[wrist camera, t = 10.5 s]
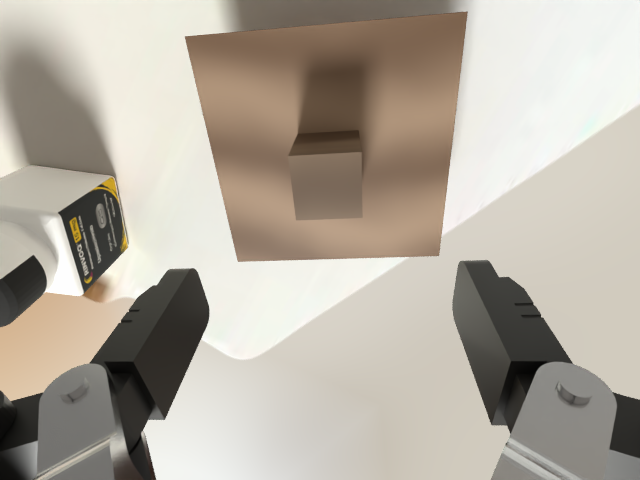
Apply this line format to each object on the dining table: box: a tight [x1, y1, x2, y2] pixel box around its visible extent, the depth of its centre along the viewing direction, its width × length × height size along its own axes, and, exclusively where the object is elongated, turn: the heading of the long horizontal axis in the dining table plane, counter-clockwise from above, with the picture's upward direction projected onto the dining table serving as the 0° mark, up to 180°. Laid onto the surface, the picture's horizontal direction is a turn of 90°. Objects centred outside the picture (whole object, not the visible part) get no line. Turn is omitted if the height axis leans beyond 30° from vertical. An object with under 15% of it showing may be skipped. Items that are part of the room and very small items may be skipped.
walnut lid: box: [185, 12, 467, 262], centre depth 20 cm, size 14×14×5 cm
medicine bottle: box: [0, 165, 128, 327], centre depth 26 cm, size 7×7×12 cm
